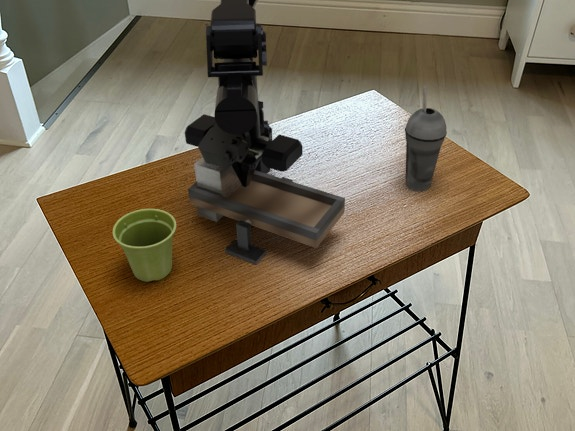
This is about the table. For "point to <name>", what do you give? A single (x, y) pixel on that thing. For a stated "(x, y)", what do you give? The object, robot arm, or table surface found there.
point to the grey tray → (275, 207)
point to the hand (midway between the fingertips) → (245, 185)
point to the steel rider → (216, 178)
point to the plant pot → (147, 242)
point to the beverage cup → (423, 145)
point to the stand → (246, 243)
